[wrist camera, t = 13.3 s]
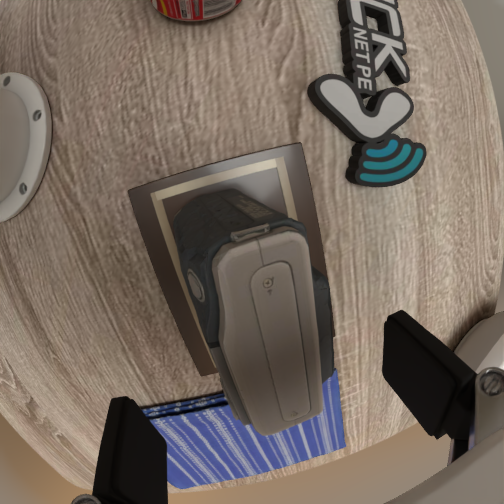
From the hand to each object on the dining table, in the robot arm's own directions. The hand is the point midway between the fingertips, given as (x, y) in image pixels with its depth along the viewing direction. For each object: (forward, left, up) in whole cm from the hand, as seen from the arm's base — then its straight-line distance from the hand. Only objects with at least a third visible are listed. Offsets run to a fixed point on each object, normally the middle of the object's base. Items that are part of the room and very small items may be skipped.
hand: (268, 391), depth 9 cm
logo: (+15, +15, -13) cm, 25 cm away
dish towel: (-5, -20, -13) cm, 24 cm away
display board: (+1, -1, -13) cm, 13 cm away
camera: (-1, 0, -12) cm, 12 cm away
